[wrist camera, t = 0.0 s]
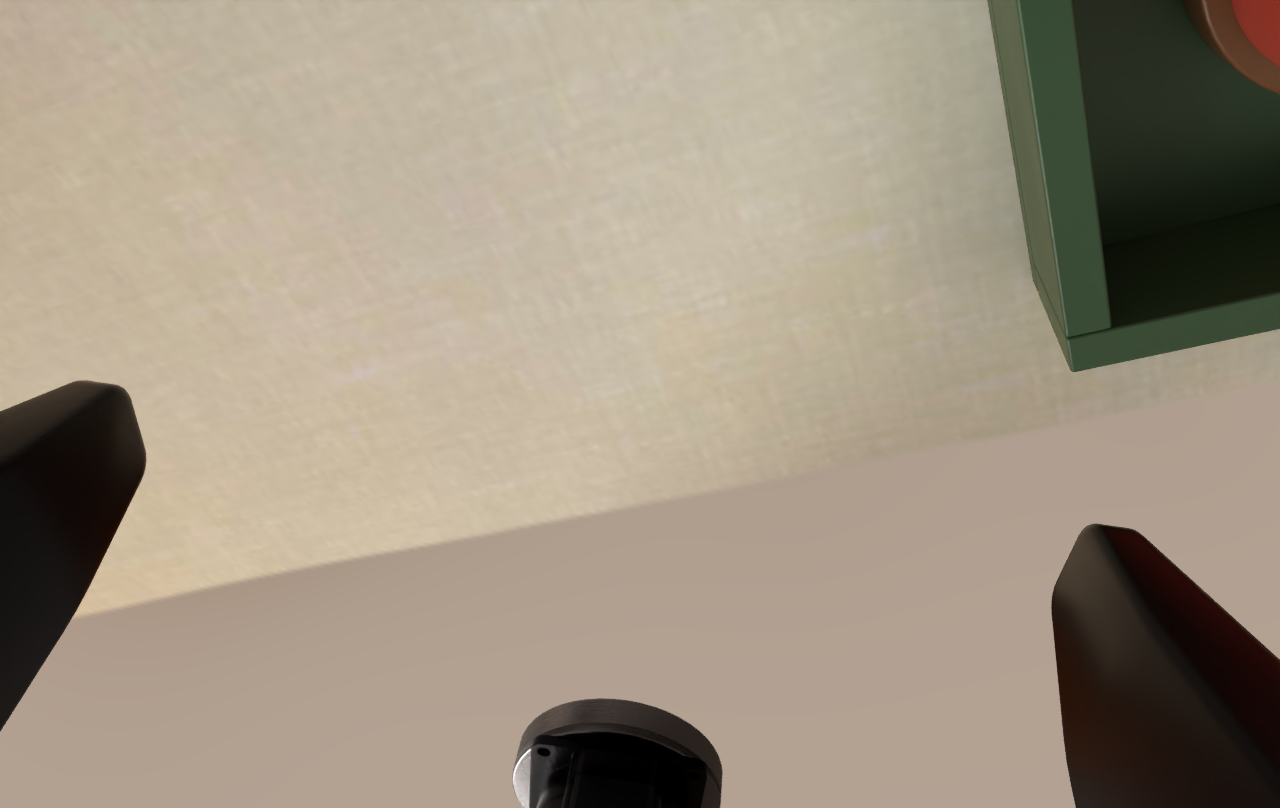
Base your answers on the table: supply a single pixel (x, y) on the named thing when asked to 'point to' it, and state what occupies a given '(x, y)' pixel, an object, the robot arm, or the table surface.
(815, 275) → the table surface
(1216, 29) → the skittle
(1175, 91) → the bin
